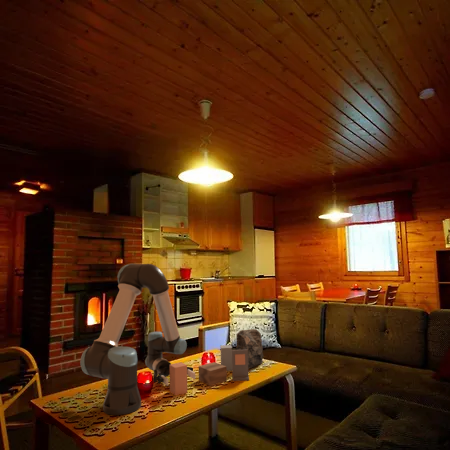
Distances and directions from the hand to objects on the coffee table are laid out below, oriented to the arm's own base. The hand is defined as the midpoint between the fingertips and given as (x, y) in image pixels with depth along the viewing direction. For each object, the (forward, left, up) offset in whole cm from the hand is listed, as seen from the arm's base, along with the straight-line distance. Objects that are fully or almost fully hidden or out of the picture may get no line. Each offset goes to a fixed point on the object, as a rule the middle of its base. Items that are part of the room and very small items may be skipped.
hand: (181, 379), depth 156 cm
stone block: (+36, +37, -7) cm, 52 cm away
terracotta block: (-2, +3, -7) cm, 7 cm away
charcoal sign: (+28, +16, -7) cm, 33 cm away
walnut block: (+14, +16, -7) cm, 22 cm away
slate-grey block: (+22, +33, -7) cm, 40 cm away
